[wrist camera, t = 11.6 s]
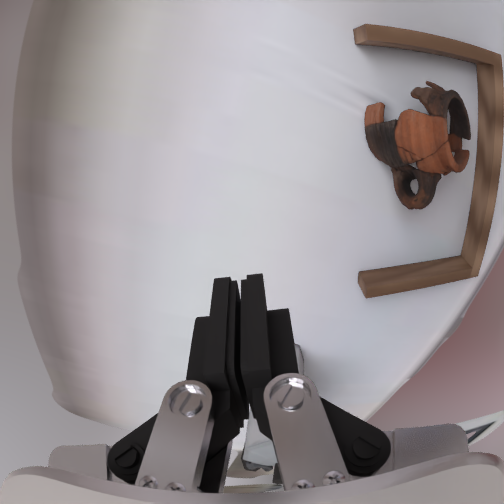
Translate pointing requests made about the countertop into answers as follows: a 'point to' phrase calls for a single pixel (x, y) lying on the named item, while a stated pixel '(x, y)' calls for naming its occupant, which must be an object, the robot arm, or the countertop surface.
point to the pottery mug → (420, 142)
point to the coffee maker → (263, 441)
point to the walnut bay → (486, 171)
